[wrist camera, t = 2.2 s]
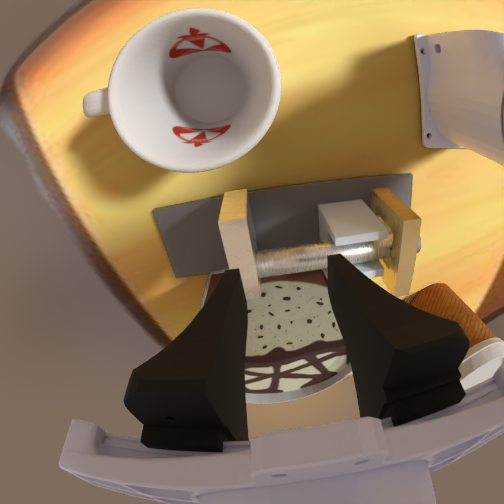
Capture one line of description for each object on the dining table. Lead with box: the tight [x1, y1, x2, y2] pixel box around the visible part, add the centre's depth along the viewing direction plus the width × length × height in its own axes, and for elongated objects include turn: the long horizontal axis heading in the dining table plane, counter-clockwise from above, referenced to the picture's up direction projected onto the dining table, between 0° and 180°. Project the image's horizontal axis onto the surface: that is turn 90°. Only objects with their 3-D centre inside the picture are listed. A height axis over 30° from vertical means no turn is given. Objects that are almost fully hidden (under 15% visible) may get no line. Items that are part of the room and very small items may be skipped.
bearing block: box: [318, 199, 388, 278], centre depth 20 cm, size 4×4×6 cm
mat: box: [153, 173, 413, 278], centre depth 23 cm, size 7×21×1 cm, turn 99°
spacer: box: [371, 188, 421, 297], centre depth 19 cm, size 6×1×5 cm, turn 9°
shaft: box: [218, 189, 421, 299], centre depth 19 cm, size 6×13×5 cm, turn 99°
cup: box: [83, 8, 281, 173], centre depth 14 cm, size 11×8×8 cm
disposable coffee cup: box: [410, 283, 504, 390], centre depth 23 cm, size 10×10×12 cm
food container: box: [198, 269, 352, 403], centre depth 22 cm, size 12×6×10 cm, turn 100°
